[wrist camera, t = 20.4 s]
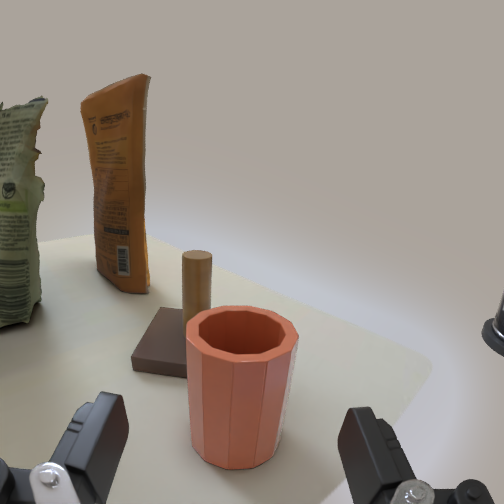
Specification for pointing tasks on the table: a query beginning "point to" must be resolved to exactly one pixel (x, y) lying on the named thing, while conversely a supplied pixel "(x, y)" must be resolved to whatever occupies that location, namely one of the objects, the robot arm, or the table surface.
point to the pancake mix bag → (119, 180)
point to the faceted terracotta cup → (238, 383)
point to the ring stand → (176, 320)
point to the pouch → (19, 211)
